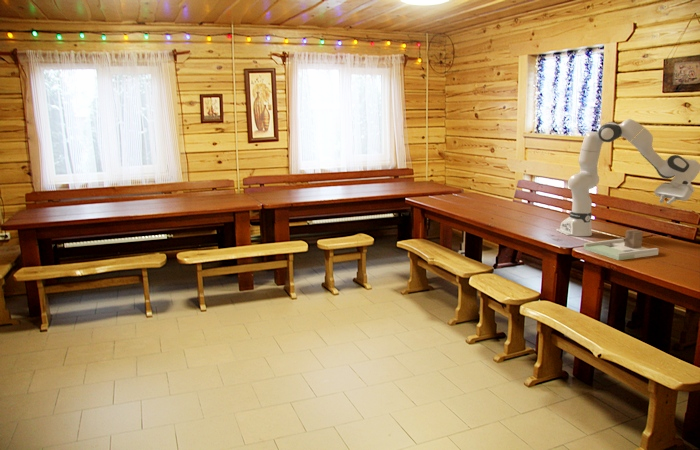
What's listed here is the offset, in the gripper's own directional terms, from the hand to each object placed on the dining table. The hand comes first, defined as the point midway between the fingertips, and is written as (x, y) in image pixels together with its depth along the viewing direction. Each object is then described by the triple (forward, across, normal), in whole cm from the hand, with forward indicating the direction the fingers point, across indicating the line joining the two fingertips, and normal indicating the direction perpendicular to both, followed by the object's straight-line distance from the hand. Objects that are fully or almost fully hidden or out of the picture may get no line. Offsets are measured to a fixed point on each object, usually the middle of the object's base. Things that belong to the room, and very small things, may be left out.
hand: (664, 202), depth 325 cm
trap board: (+39, 0, -3) cm, 39 cm away
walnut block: (+31, 0, +2) cm, 31 cm away
